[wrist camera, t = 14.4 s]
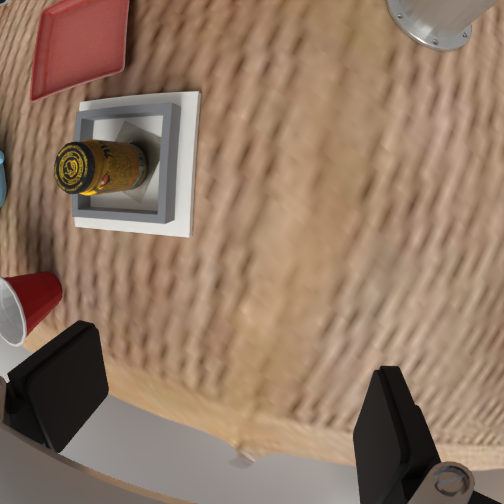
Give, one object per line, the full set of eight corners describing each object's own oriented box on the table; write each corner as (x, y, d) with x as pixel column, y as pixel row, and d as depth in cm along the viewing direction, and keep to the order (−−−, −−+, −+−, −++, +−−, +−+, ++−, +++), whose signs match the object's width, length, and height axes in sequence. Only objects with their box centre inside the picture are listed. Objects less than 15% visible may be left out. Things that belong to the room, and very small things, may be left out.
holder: (85, 103, 38) (67, 99, 34) (201, 93, 36) (190, 85, 32) (79, 225, 43) (62, 230, 39) (192, 235, 41) (180, 242, 37)
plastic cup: (35, 243, 45) (-17, 262, 34) (79, 277, 45) (28, 305, 34) (26, 294, 48) (-19, 318, 37) (66, 328, 48) (23, 360, 37)
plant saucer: (141, -22, 33) (132, -31, 30) (135, 77, 37) (123, 71, 34) (52, 15, 36) (41, 9, 32) (42, 106, 40) (29, 104, 37)
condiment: (100, 178, 39) (39, 184, 28) (125, 120, 37) (67, 108, 26) (140, 203, 39) (85, 216, 28) (169, 142, 37) (118, 133, 26)
